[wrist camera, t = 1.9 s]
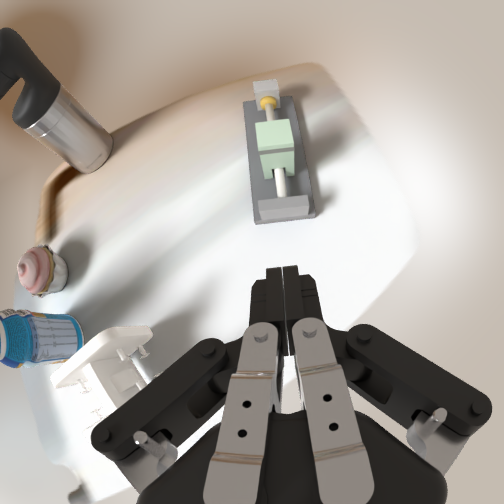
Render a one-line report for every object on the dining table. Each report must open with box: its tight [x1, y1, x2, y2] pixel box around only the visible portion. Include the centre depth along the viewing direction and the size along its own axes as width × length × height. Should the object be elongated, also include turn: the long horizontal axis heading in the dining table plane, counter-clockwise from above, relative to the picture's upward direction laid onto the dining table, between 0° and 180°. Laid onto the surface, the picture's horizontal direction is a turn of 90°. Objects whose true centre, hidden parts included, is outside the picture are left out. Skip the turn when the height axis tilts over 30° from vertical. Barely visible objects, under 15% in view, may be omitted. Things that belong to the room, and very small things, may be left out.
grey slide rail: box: [243, 79, 316, 225], centre depth 37 cm, size 21×8×6 cm, turn 5°
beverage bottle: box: [0, 309, 84, 368], centre depth 29 cm, size 8×8×20 cm
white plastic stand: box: [50, 326, 164, 443], centre depth 30 cm, size 15×11×12 cm
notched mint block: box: [255, 119, 295, 179], centre depth 34 cm, size 4×4×8 cm
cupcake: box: [17, 244, 68, 299], centre depth 37 cm, size 9×9×10 cm
